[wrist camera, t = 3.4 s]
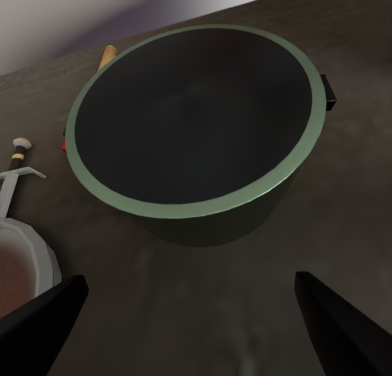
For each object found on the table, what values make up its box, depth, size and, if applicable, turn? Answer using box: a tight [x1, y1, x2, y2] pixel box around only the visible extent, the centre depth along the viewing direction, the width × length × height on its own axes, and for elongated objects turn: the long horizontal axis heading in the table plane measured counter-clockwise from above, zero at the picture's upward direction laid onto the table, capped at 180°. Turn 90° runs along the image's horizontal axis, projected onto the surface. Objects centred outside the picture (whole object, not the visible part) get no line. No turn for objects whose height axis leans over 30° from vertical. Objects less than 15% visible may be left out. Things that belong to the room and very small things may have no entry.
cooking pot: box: [63, 24, 337, 247], centre depth 16 cm, size 16×18×9 cm
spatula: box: [62, 45, 117, 153], centre depth 26 cm, size 19×6×2 cm, turn 1°
